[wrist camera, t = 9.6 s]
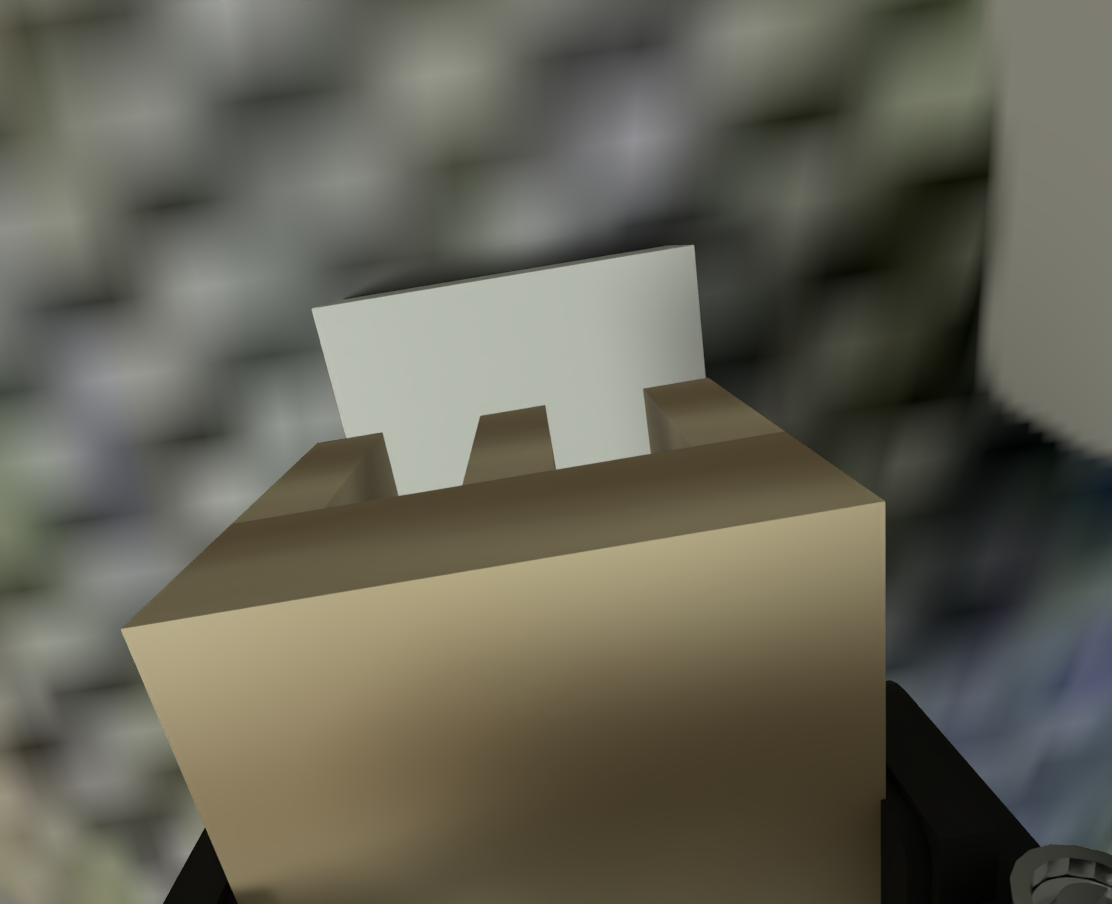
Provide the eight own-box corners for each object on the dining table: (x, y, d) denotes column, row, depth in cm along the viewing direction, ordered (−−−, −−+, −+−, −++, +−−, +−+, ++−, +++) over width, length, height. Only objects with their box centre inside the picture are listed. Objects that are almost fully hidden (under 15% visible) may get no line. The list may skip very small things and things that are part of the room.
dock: (342, 299, 19) (311, 308, 17) (668, 245, 19) (694, 245, 17) (472, 808, 26) (465, 878, 23) (720, 766, 26) (744, 832, 23)
